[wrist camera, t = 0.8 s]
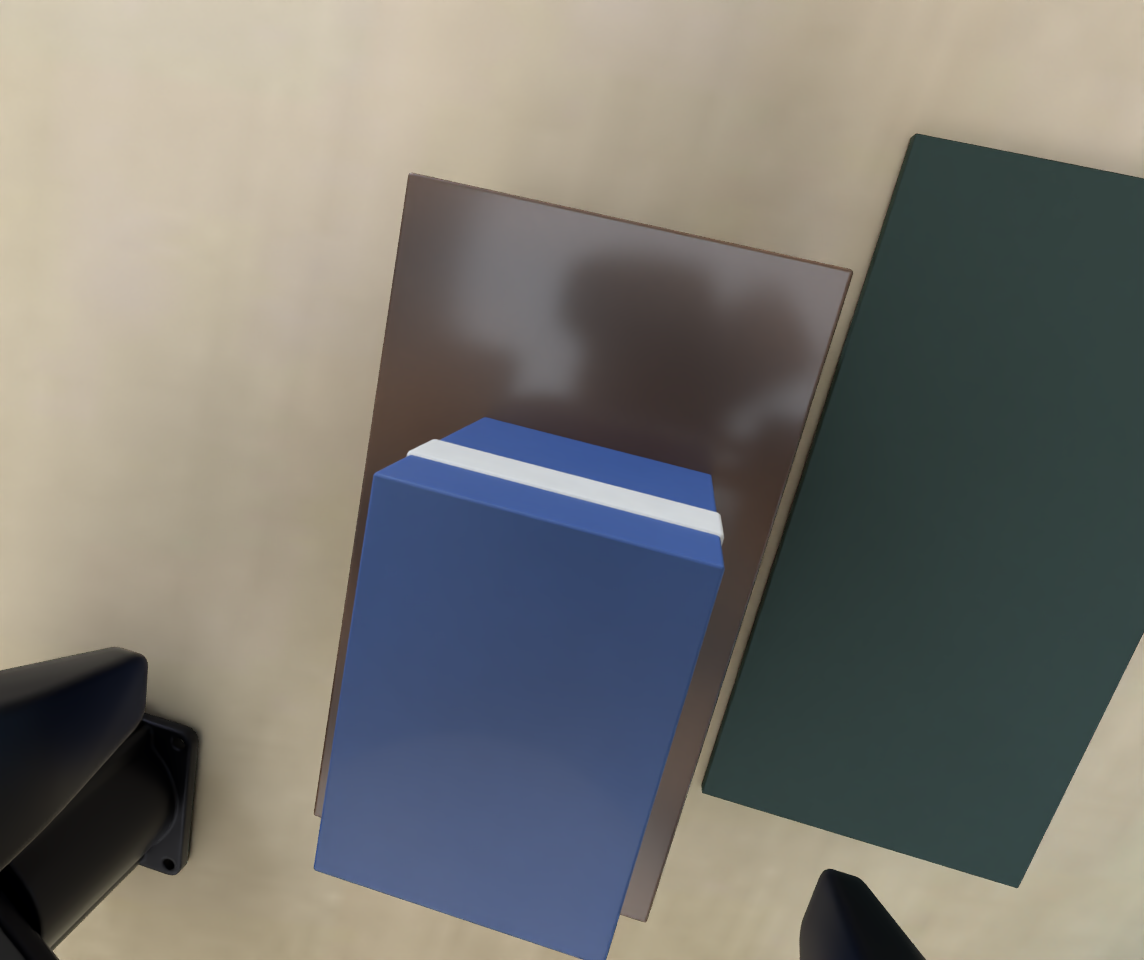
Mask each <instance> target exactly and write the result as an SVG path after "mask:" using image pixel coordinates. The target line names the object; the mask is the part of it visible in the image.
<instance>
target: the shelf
mask: <svg viewBox="0 0 1144 960" xmlns="http://www.w3.org/2000/svg"><path fill="white" fill-rule="evenodd" d="M852 275H853V271H852V270H851V269H848V268H843V267H839V266H834V265H829V264H825V263H820V262H816V261H811V260H807V259H802V258H798V257H793V256H789V255H784V254H779V253H775V252H770V251H766V250H761V249H757V248H752V247H748V246H743V245H739V244H734V243H729V242H725V241H720V240H716V239H711V238H707V237H702V236H698V235H693V234H689V233H684V232H679V231H675V230H670V229H666V228H661V227H657V226H652V225H648V224H643V223H639V222H634V221H629V220H625V219H620V218H616V217H611V216H607V215H602V214H598V213H593V212H589V211H584V210H579V209H575V208H570V207H566V206H561V205H557V204H552V203H548V202H543V201H539V200H534V199H529V198H525V197H520V196H516V195H511V194H507V193H502V192H498V191H493V190H489V189H484V188H479V187H475V186H470V185H466V184H461V183H457V182H452V181H448V180H443V179H438V178H434V177H429V176H425V175H420V174H416V173H409V175H408V181H407V188H406V195H405V202H404V208H403V215H402V222H401V229H400V235H399V242H398V249H397V256H396V262H395V269H394V276H393V283H392V289H391V296H390V303H389V310H388V316H387V323H386V330H385V337H384V343H383V350H382V357H381V364H380V370H379V377H378V384H377V391H376V397H375V404H374V411H373V418H372V424H371V431H370V438H369V445H368V451H367V458H366V465H365V472H364V478H363V485H362V492H361V499H360V505H359V512H358V519H357V526H356V532H355V539H354V546H353V553H352V559H351V566H350V573H349V580H348V586H347V593H346V600H345V607H344V613H343V620H342V627H341V634H340V640H339V647H338V654H337V661H336V667H335V674H334V681H333V688H332V694H331V701H330V708H329V715H328V721H327V728H326V735H325V742H324V748H323V755H322V762H321V769H320V775H319V782H318V789H317V796H316V802H315V809H314V815H315V816H318V817H322V811H323V804H324V797H325V791H326V784H327V778H328V771H329V764H330V758H331V751H332V745H333V738H334V732H335V725H336V718H337V712H338V705H339V699H340V692H341V685H342V679H343V672H344V666H345V659H346V653H347V646H348V639H349V633H350V626H351V620H352V613H353V606H354V600H355V593H356V587H357V580H358V574H359V567H360V560H361V554H362V547H363V541H364V534H365V527H366V521H367V514H368V508H369V501H370V495H371V488H372V481H373V475H374V474H375V473H376V472H378V471H380V470H382V469H384V468H385V467H387V466H389V465H391V464H393V463H395V462H397V461H399V460H401V459H403V458H405V457H407V453H408V452H409V451H410V450H412V449H414V448H416V447H418V446H420V445H423V444H425V443H427V442H429V441H431V440H433V439H437V440H441V439H442V438H444V437H446V436H448V435H450V434H452V433H454V432H456V431H458V430H460V429H462V428H464V427H466V426H468V425H470V424H472V423H474V422H476V421H478V420H480V419H482V418H484V417H487V418H491V419H495V420H499V421H502V422H506V423H510V424H514V425H518V426H522V427H526V428H530V429H534V430H538V431H542V432H546V433H550V434H553V435H557V436H561V437H565V438H569V439H573V440H577V441H581V442H585V443H589V444H593V445H597V446H601V447H604V448H608V449H612V450H616V451H620V452H624V453H628V454H632V455H636V456H640V457H644V458H648V459H652V460H655V461H659V462H663V463H667V464H671V465H675V466H679V467H683V468H687V469H691V470H695V471H699V472H703V473H706V474H710V475H711V476H712V483H713V490H714V497H715V504H716V511H717V513H719V514H720V515H721V521H722V527H723V533H724V540H723V543H722V553H723V560H724V568H725V570H724V574H723V577H722V580H721V584H720V587H719V590H718V593H717V597H716V600H715V603H714V607H713V610H712V613H711V616H710V620H709V623H708V626H707V630H706V633H705V636H704V639H703V643H702V646H701V649H700V653H699V656H698V659H697V662H696V666H695V669H694V672H693V676H692V679H691V682H690V685H689V689H688V692H687V695H686V699H685V702H684V705H683V709H682V712H681V715H680V718H679V722H678V725H677V728H676V732H675V735H674V738H673V741H672V745H671V748H670V751H669V755H668V758H667V761H666V764H665V768H664V771H663V774H662V778H661V781H660V784H659V787H658V791H657V794H656V797H655V801H654V804H653V807H652V810H651V814H650V817H649V820H648V824H647V827H646V830H645V833H644V837H643V840H642V843H641V847H640V850H639V853H638V857H637V860H636V863H635V866H634V870H633V873H632V876H631V880H630V883H629V886H628V889H627V893H626V896H625V899H624V903H623V906H622V909H621V912H620V915H623V916H626V917H629V918H632V919H636V920H639V921H642V922H646V921H647V919H648V916H649V913H650V910H651V907H652V904H653V901H654V897H655V894H656V891H657V888H658V885H659V882H660V879H661V875H662V872H663V869H664V866H665V863H666V860H667V857H668V853H669V850H670V847H671V844H672V841H673V838H674V835H675V831H676V828H677V825H678V822H679V819H680V816H681V813H682V809H683V806H684V803H685V800H686V797H687V794H688V791H689V787H690V784H691V781H692V778H693V775H694V772H695V769H696V765H697V762H698V759H699V756H700V753H701V750H702V747H703V743H704V740H705V737H706V734H707V731H708V728H709V725H710V721H711V718H712V715H713V712H714V709H715V706H716V703H717V699H718V696H719V693H720V690H721V687H722V684H723V681H724V677H725V674H726V671H727V668H728V665H729V662H730V659H731V655H732V652H733V649H734V646H735V643H736V640H737V637H738V633H739V630H740V627H741V624H742V621H743V618H744V615H745V611H746V608H747V605H748V602H749V599H750V596H751V593H752V589H753V586H754V583H755V580H756V577H757V574H758V571H759V567H760V564H761V561H762V558H763V555H764V552H765V549H766V545H767V542H768V539H769V536H770V533H771V530H772V527H773V523H774V520H775V517H776V514H777V511H778V508H779V505H780V501H781V498H782V495H783V492H784V489H785V486H786V483H787V479H788V476H789V473H790V470H791V467H792V464H793V461H794V457H795V454H796V451H797V448H798V445H799V442H800V439H801V435H802V432H803V429H804V426H805V423H806V420H807V417H808V413H809V410H810V407H811V404H812V401H813V398H814V395H815V391H816V388H817V385H818V382H819V379H820V376H821V373H822V369H823V366H824V363H825V360H826V357H827V354H828V351H829V348H830V344H831V341H832V338H833V335H834V332H835V329H836V326H837V322H838V319H839V316H840V313H841V310H842V307H843V304H844V300H845V297H846V294H847V291H848V288H849V285H850V282H851V278H852Z"/></svg>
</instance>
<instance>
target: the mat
mask: <svg viewBox="0 0 1144 960" xmlns="http://www.w3.org/2000/svg"><path fill="white" fill-rule="evenodd" d="M1143 633H1144V178H1139V177H1133V176H1128V175H1123V174H1118V173H1113V172H1108V171H1103V170H1098V169H1093V168H1088V167H1083V166H1078V165H1073V164H1068V163H1063V162H1058V161H1053V160H1048V159H1043V158H1038V157H1033V156H1028V155H1023V154H1018V153H1013V152H1007V151H1002V150H997V149H992V148H987V147H982V146H977V145H972V144H967V143H962V142H957V141H952V140H947V139H942V138H937V137H932V136H927V135H922V134H915V135H914V136H913V137H912V138H911V140H910V143H909V146H908V149H907V152H906V155H905V158H904V161H903V164H902V168H901V171H900V174H899V177H898V180H897V183H896V186H895V189H894V192H893V195H892V198H891V202H890V205H889V208H888V211H887V214H886V217H885V220H884V223H883V226H882V229H881V232H880V236H879V239H878V242H877V245H876V248H875V251H874V254H873V257H872V260H871V263H870V266H869V270H868V273H867V276H866V279H865V282H864V285H863V288H862V291H861V294H860V297H859V300H858V304H857V307H856V310H855V313H854V316H853V319H852V322H851V325H850V328H849V331H848V334H847V338H846V341H845V344H844V347H843V350H842V353H841V356H840V359H839V362H838V365H837V368H836V372H835V375H834V378H833V381H832V384H831V387H830V390H829V393H828V396H827V399H826V402H825V406H824V409H823V412H822V415H821V418H820V421H819V424H818V427H817V430H816V433H815V436H814V440H813V443H812V446H811V449H810V452H809V455H808V458H807V461H806V464H805V467H804V471H803V474H802V477H801V480H800V483H799V486H798V489H797V492H796V495H795V498H794V501H793V505H792V508H791V511H790V514H789V517H788V520H787V523H786V526H785V529H784V532H783V535H782V539H781V542H780V545H779V548H778V551H777V554H776V557H775V560H774V563H773V566H772V569H771V573H770V576H769V579H768V582H767V585H766V588H765V591H764V594H763V597H762V600H761V603H760V607H759V610H758V613H757V616H756V619H755V622H754V625H753V628H752V631H751V634H750V637H749V641H748V644H747V647H746V650H745V653H744V656H743V659H742V662H741V665H740V668H739V671H738V675H737V678H736V681H735V684H734V687H733V690H732V693H731V696H730V699H729V702H728V705H727V709H726V712H725V715H724V718H723V721H722V724H721V727H720V730H719V733H718V736H717V739H716V743H715V746H714V749H713V752H712V755H711V758H710V761H709V764H708V767H707V770H706V773H705V777H704V780H703V783H702V793H704V794H708V795H711V796H714V797H718V798H721V799H724V800H728V801H731V802H734V803H737V804H741V805H744V806H747V807H751V808H754V809H757V810H761V811H764V812H767V813H770V814H774V815H777V816H780V817H784V818H787V819H790V820H794V821H797V822H800V823H804V824H807V825H810V826H813V827H817V828H820V829H823V830H827V831H830V832H833V833H837V834H840V835H843V836H847V837H850V838H853V839H856V840H860V841H863V842H866V843H870V844H873V845H876V846H880V847H883V848H886V849H890V850H893V851H896V852H899V853H903V854H906V855H909V856H913V857H916V858H919V859H923V860H926V861H929V862H932V863H936V864H939V865H942V866H946V867H949V868H952V869H956V870H959V871H962V872H966V873H969V874H972V875H975V876H979V877H982V878H985V879H989V880H992V881H995V882H999V883H1002V884H1005V885H1009V886H1012V887H1015V888H1018V887H1019V885H1020V883H1021V881H1022V879H1023V877H1024V875H1025V873H1026V871H1027V869H1028V867H1029V865H1030V863H1031V861H1032V859H1033V857H1034V855H1035V853H1036V850H1037V848H1038V846H1039V844H1040V842H1041V840H1042V838H1043V836H1044V834H1045V832H1046V830H1047V828H1048V826H1049V824H1050V822H1051V820H1052V818H1053V816H1054V814H1055V812H1056V810H1057V808H1058V806H1059V804H1060V802H1061V800H1062V798H1063V796H1064V793H1065V791H1066V789H1067V787H1068V785H1069V783H1070V781H1071V779H1072V777H1073V775H1074V773H1075V771H1076V769H1077V767H1078V765H1079V763H1080V761H1081V759H1082V757H1083V755H1084V753H1085V751H1086V749H1087V747H1088V745H1089V743H1090V741H1091V739H1092V736H1093V734H1094V732H1095V730H1096V728H1097V726H1098V724H1099V722H1100V720H1101V718H1102V716H1103V714H1104V712H1105V710H1106V708H1107V706H1108V704H1109V702H1110V700H1111V698H1112V696H1113V694H1114V692H1115V690H1116V688H1117V686H1118V684H1119V682H1120V679H1121V677H1122V675H1123V673H1124V671H1125V669H1126V667H1127V665H1128V663H1129V661H1130V659H1131V657H1132V655H1133V653H1134V651H1135V649H1136V647H1137V645H1138V643H1139V641H1140V639H1141V637H1142V635H1143Z"/></svg>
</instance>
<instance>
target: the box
mask: <svg viewBox="0 0 1144 960" xmlns="http://www.w3.org/2000/svg"><path fill="white" fill-rule="evenodd" d="M723 540H724V533H723V527H722V521H721V515H720V514H719V513H717V511H716V504H715V497H714V490H713V483H712V476H711V475H710V474H706V473H703V472H699V471H695V470H691V469H687V468H683V467H679V466H675V465H671V464H667V463H663V462H659V461H655V460H652V459H648V458H644V457H640V456H636V455H632V454H628V453H624V452H620V451H616V450H612V449H608V448H604V447H601V446H597V445H593V444H589V443H585V442H581V441H577V440H573V439H569V438H565V437H561V436H557V435H553V434H550V433H546V432H542V431H538V430H534V429H530V428H526V427H522V426H518V425H514V424H510V423H506V422H502V421H499V420H495V419H491V418H487V417H484V418H482V419H480V420H478V421H476V422H474V423H472V424H470V425H468V426H466V427H464V428H462V429H460V430H458V431H456V432H454V433H452V434H450V435H448V436H446V437H444V438H442V439H441V440H437V439H433V440H431V441H429V442H427V443H425V444H423V445H420V446H418V447H416V448H414V449H412V450H410V451H409V452H408V453H407V457H405V458H403V459H401V460H399V461H397V462H395V463H393V464H391V465H389V466H387V467H385V468H384V469H382V470H380V471H378V472H376V473H375V474H374V475H373V481H372V488H371V495H370V501H369V508H368V514H367V521H366V527H365V534H364V541H363V547H362V554H361V560H360V567H359V574H358V580H357V587H356V593H355V600H354V606H353V613H352V620H351V626H350V633H349V639H348V646H347V653H346V659H345V666H344V672H343V679H342V685H341V692H340V699H339V705H338V712H337V718H336V725H335V732H334V738H333V745H332V751H331V758H330V764H329V771H328V778H327V784H326V791H325V797H324V804H323V811H322V817H321V824H320V830H319V837H318V843H317V850H316V857H315V863H314V869H315V870H316V871H319V872H322V873H325V874H328V875H331V876H334V877H337V878H340V879H343V880H346V881H349V882H352V883H355V884H358V885H361V886H364V887H367V888H370V889H373V890H376V891H379V892H382V893H385V894H388V895H391V896H394V897H397V898H400V899H403V900H406V901H409V902H412V903H415V904H418V905H421V906H424V907H427V908H430V909H433V910H436V911H439V912H442V913H445V914H448V915H451V916H454V917H457V918H460V919H463V920H466V921H469V922H472V923H475V924H478V925H481V926H484V927H487V928H490V929H493V930H496V931H499V932H502V933H505V934H508V935H511V936H514V937H517V938H520V939H523V940H526V941H529V942H532V943H535V944H538V945H541V946H544V947H547V948H550V949H553V950H556V951H559V952H562V953H565V954H568V955H571V956H574V957H577V958H580V959H583V960H606V958H607V955H608V952H609V949H610V945H611V942H612V939H613V935H614V932H615V929H616V926H617V922H618V919H619V916H620V912H621V909H622V906H623V903H624V899H625V896H626V893H627V889H628V886H629V883H630V880H631V876H632V873H633V870H634V866H635V863H636V860H637V857H638V853H639V850H640V847H641V843H642V840H643V837H644V833H645V830H646V827H647V824H648V820H649V817H650V814H651V810H652V807H653V804H654V801H655V797H656V794H657V791H658V787H659V784H660V781H661V778H662V774H663V771H664V768H665V764H666V761H667V758H668V755H669V751H670V748H671V745H672V741H673V738H674V735H675V732H676V728H677V725H678V722H679V718H680V715H681V712H682V709H683V705H684V702H685V699H686V695H687V692H688V689H689V685H690V682H691V679H692V676H693V672H694V669H695V666H696V662H697V659H698V656H699V653H700V649H701V646H702V643H703V639H704V636H705V633H706V630H707V626H708V623H709V620H710V616H711V613H712V610H713V607H714V603H715V600H716V597H717V593H718V590H719V587H720V584H721V580H722V577H723V574H724V570H725V568H724V560H723V553H722V543H723Z"/></svg>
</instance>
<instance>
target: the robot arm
mask: <svg viewBox="0 0 1144 960" xmlns="http://www.w3.org/2000/svg"><path fill="white" fill-rule="evenodd" d="M147 674H148V662H147V660H146V658H145V657H144V656H143V655H142V654H140V653H136V652H133V651H130V650H127V649H124V648H120V647H110V648H105V649H100V650H96V651H91V652H86V653H81V654H77V655H72V656H67V657H62V658H58V659H53V660H48V661H43V662H39V663H34V664H29V665H24V666H20V667H15V668H10V669H5V670H1V671H0V960H59V959H58V958H57V956H56V955H55V954H54V953H53V950H54V949H55V948H56V947H57V946H58V945H59V944H60V943H61V942H62V941H63V940H64V939H65V938H66V937H67V936H68V935H69V934H70V933H71V932H72V931H73V930H74V929H75V928H76V927H77V926H78V925H79V924H80V923H81V922H82V921H83V920H84V919H85V918H86V917H87V916H88V914H89V913H90V912H91V911H92V910H93V909H94V908H95V907H96V906H97V905H98V904H99V903H100V902H101V901H102V900H103V899H104V898H105V897H106V896H107V895H108V894H109V893H110V892H111V891H112V890H113V889H114V888H115V887H116V886H117V885H118V884H119V883H120V882H121V881H122V880H123V879H124V878H125V877H126V876H127V875H128V874H129V873H130V872H131V871H132V870H133V869H134V868H135V867H136V866H137V865H138V864H139V865H142V866H144V867H147V868H150V869H153V870H156V871H159V872H162V873H165V874H168V875H175V874H177V873H178V872H179V871H180V870H181V869H182V868H183V867H184V866H185V865H186V864H187V861H188V850H189V840H190V829H191V818H192V807H193V796H194V785H195V774H196V763H197V752H198V736H197V734H196V732H195V731H194V730H193V729H192V728H190V727H188V726H185V725H182V724H179V723H176V722H172V721H169V720H166V719H163V718H160V717H157V716H153V715H150V714H147V713H144V712H145V708H146V693H147ZM181 739H182V740H183V742H182V740H181ZM800 960H926V959H925V958H924V957H923V956H922V954H921V953H920V952H919V950H918V949H917V948H916V947H915V945H914V944H913V943H912V942H911V940H910V939H909V938H908V937H907V935H906V934H905V933H904V932H903V930H902V929H901V928H900V927H899V925H898V924H897V923H896V922H895V920H894V919H893V918H892V917H891V915H890V914H889V913H888V912H887V910H886V909H885V908H884V906H883V905H882V904H881V903H880V901H879V900H878V899H877V898H876V896H875V895H874V894H873V893H872V891H871V890H870V889H869V888H868V886H867V885H866V884H865V883H864V882H863V881H862V880H861V879H860V878H858V877H856V876H852V875H849V874H846V873H843V872H840V871H836V870H833V869H827V870H824V871H823V873H822V874H821V875H820V877H819V879H818V882H817V885H816V887H815V890H814V892H813V895H812V897H811V900H810V902H809V905H808V907H807V910H806V912H805V915H804V918H803V920H802V924H801V930H800Z"/></svg>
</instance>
